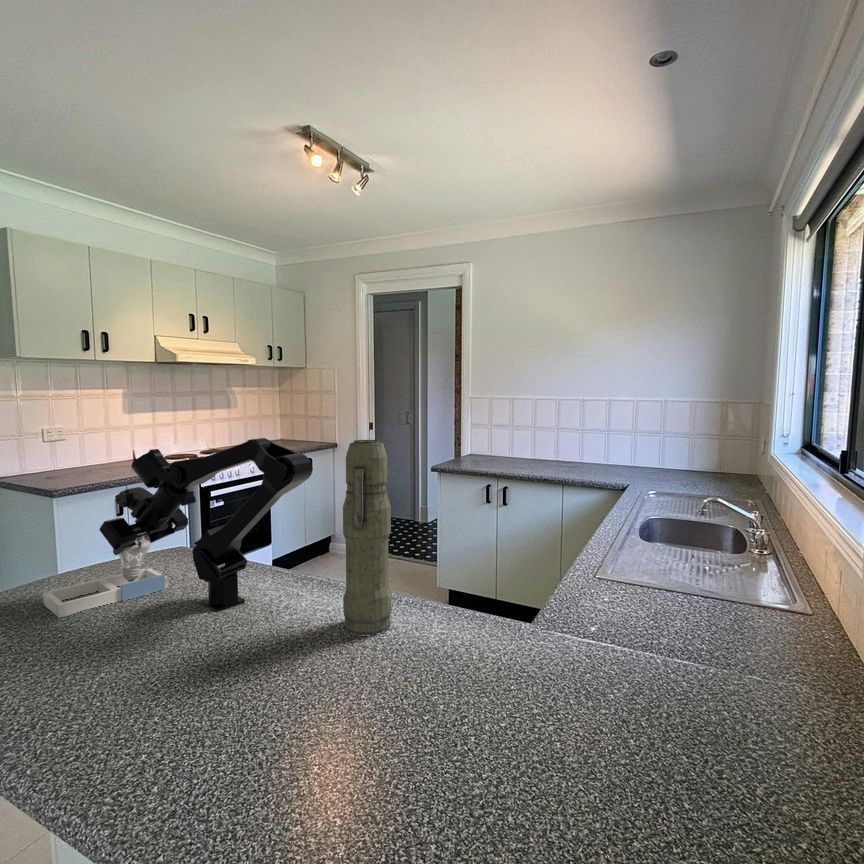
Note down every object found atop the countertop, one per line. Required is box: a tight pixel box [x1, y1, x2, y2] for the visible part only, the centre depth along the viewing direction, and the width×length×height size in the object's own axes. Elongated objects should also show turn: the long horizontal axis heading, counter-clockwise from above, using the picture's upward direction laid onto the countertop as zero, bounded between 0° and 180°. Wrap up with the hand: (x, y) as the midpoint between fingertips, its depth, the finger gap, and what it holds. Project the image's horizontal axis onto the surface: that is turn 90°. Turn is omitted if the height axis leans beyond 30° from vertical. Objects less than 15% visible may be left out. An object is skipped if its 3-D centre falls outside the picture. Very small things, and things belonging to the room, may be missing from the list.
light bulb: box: [117, 532, 152, 582], centre depth 115 cm, size 7×7×12 cm
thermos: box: [342, 439, 392, 636], centre depth 96 cm, size 9×12×35 cm
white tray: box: [42, 567, 169, 619], centre depth 111 cm, size 11×21×4 cm, turn 140°
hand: (128, 549), depth 115 cm, fingers closed on light bulb, 6 cm apart
